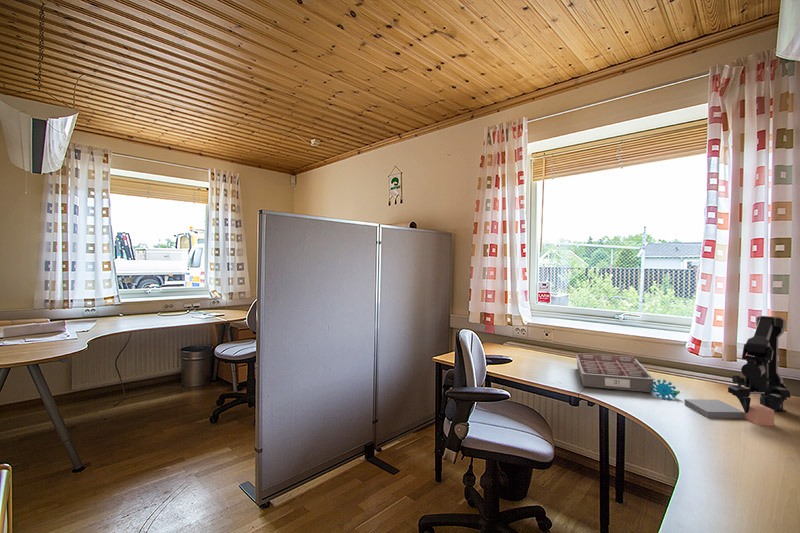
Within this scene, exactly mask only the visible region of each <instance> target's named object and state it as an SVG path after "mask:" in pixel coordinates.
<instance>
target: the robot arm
mask: <svg viewBox="0 0 800 533" xmlns="http://www.w3.org/2000/svg"><path fill="white" fill-rule="evenodd" d="M755 325H756V328H755V331H754V334H753V336H752V337H750V338H748V339H747V341H746V342H745V343H744V344H743V348H742V354H741V359H742V360H745V361H746V363H745V364H744V365H742V367H741V369H740V371H741V373H742V375H743V376H744V377H741V376H740V375H732V376H731V378H732V383H733V384H735V385H730V386H728V388H727V393H729V394H731V395H732V396H734V397H736V398H737V400H738V401H739V403H740V405H741V407H742V409H743V412H745V413H748V412H749V407H750V404H751V397H750V396H751V395H753V394H754V395H760V397H759V404H761V405H763V406H766V407H768V408H770V409H773V410H774V413H775V412H787V409H785V408H784V402H785V401H787V400H788V398H789V399H790V398H791V397H792V394H791V392H790V390H789V389H788V387H787V386H786V384H785V382H784V378H783V377H782V376H781V375H780V373H779V338H780V337H781V336H782V335H783V334H784V332H785V330H786V329H787V321H786V320H785V319H783V317H779V316H767V315H760V316H757V317H756V324H755ZM736 384H737V385H736Z"/></svg>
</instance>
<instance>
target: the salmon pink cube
mask: <svg viewBox="0 0 800 533" xmlns="http://www.w3.org/2000/svg"><path fill="white" fill-rule="evenodd" d="M744 420H747V421H748V422H751V423H753V424H755V425H757V426H775V412H774V410H773V409H770V408H768V407H766V406H763V405H761V404H760V403H759V404H758V403H754V404H753V403H750V407H749V412H748V413H745V418H744Z"/></svg>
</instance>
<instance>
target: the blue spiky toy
mask: <svg viewBox="0 0 800 533" xmlns="http://www.w3.org/2000/svg"><path fill="white" fill-rule="evenodd" d="M657 383H658V384H657ZM672 385H673V383H672V382H671V381H669V382H668V383H667V380H666V379H662V382H661V379H657V380H656V381H655V380H653V385H652V386H651V388H653V390H652V392H651V393H652V394H653V393H654V394H655V393H656V394H655V396H656V397H657V398H659V397H660V396H661V399H662V400H665V399H666V398H667V400H669V401H670V400H671V399H672V398H673V399H674V398H676V396H678V395H680V393H681V392H680V390H676V386H675V385H673V386H672ZM666 396H667V397H666Z"/></svg>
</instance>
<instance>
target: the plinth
mask: <svg viewBox="0 0 800 533" xmlns="http://www.w3.org/2000/svg"><path fill="white" fill-rule="evenodd" d="M684 405H685V406H686V407H687V408H690V409H691V410H693V411H695V412H697V413H698V414H699V415H702V416H703V417H705V418H706V419H745V411H744V410H740V409H739V408H737V407H735V406H733V405H730V404H728V403H726V402H724V401H722V400H720V399H701V398H700V399H694V398H693V399H692V398H691V399H690V398H688V399H687V398H685V399H684Z"/></svg>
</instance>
